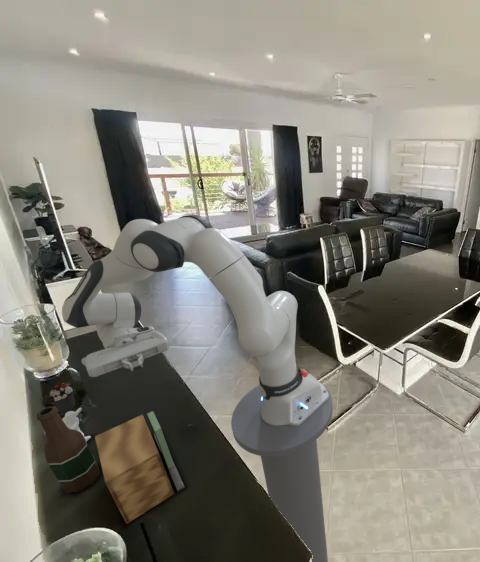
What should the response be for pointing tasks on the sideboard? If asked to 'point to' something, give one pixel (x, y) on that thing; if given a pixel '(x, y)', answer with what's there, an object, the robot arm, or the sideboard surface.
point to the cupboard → (134, 468)
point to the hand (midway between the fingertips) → (137, 367)
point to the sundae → (62, 398)
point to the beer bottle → (67, 452)
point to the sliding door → (160, 439)
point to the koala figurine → (73, 422)
